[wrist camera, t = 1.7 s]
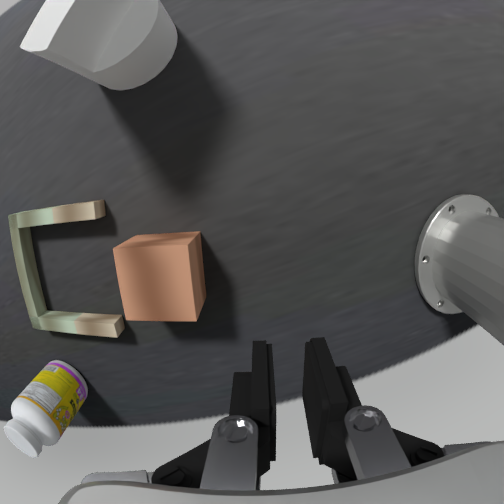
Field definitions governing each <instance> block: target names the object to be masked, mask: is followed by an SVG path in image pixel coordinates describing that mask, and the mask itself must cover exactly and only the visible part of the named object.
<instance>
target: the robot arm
mask: <svg viewBox="0 0 504 504" xmlns="http://www.w3.org/2000/svg"><path fill="white" fill-rule="evenodd" d="M415 277H416V283H417V286H418V288H419V291H420V293H421V295H422V296H423V298H424V300H425V301H426V302H427V303H428V304H429V305H430V306H432V307H433V308H434V309H435V310H437V311H439V312H442V313H445V314H456V313H461V312H464V313H465V314H467V315H468V316H469V317H470V318H472V319H473V320H474V321H475V322H476V323H478V324H479V325H480V326H481V327H483V328H484V329H485V330H486V331H487V332H489V333H490V334H491V335H492V336H493V337H495V338H496V339H497V340H498V341H499V342H500V343H502V344H503V345H504V219H502V218H499V216H498V214H497V212H496V211H495V209H494V208H493V206H492V205H491V204H490V203H489V202H487V201H486V200H485V199H483V198H481V197H479V196H475V195H469V194H461V195H456V196H453V197H451V198H449V199H447V200H445V201H444V202H443V203H442V204H440V205H439V206H438V207H437V208H436V209H435V211H434V212H433V213H432V214H431V215H430V217H429V219H428V220H427V222H426V223H425V225H424V227H423V230H422V232H421V234H420V237H419V240H418V244H417V248H416V254H415ZM303 402H304V408H305V413H306V418H307V424H308V430H309V436H310V442H311V448H312V453H313V458H319V464H320V465H321V464H325V465H326V466H328V467H330V468H332V476H333V480H334V483H335V484H332V485H325V486H317V487H308V488H297V489H285V490H284V489H283V490H260V482H261V476H262V475H263V474H264V473H266V472H267V471H268V470H269V469H270V461H275V460H276V397H275V383H274V369H273V356H272V344H266V341H253V352H252V372H234V377H233V386H232V395H231V404H230V412H229V416H228V417H224V418H223V419H221V420H219V421H218V422H217V423H216V424H215V426H214V428H213V432H212V436H211V439H209V440H208V441H206V442H204V443H203V444H201V445H199V446H197V447H196V448H194V449H192V450H190V451H188V452H187V453H185V454H183V455H181V456H179V457H177V458H175V459H174V460H172V461H170V462H168V463H166V464H164V465H162V466H160V467H159V468H157V469H156V470H155V472H148V473H147V472H146V470H141V471H127V472H106V473H105V472H104V473H91V474H89V475H87V476H85V478H84V479H83V480H82V482H81V484H80V485H77V486H75V487H73V488H72V489H70V490H69V491H68V492H67V493H66V494H65V495H64V496H63V498H62V499H61V500H60V502H59V503H58V504H504V441H497V442H476V443H466V444H454V445H445V446H444V447H443V448H440V447H439V446H438V445H436V444H434V443H432V442H429V441H426V440H423V439H420V438H417V437H415V436H412V435H409V434H406V433H403V432H401V431H398V430H396V429H393V428H391V426H390V424H389V422H388V420H387V419H386V417H385V415H384V414H383V413H382V411H380V410H379V409H377V408H375V407H372V406H362V405H361V402H360V400H359V397H358V395H357V393H356V390H355V388H354V385H353V383H352V380H351V378H350V376H349V373H348V371H347V368H346V367H345V366H339V367H335V364H334V362H333V359H332V356H331V354H330V351H329V348H328V346H327V343H326V340H325V338H324V337H322V338H311V339H310V342H306V343H305V360H304V377H303Z"/></svg>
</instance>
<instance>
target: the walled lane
mask: <svg viewBox="0 0 504 504" xmlns="http://www.w3.org/2000/svg"><path fill="white" fill-rule="evenodd" d="M104 216H106V214H105V203H104V200H98V201H90V202H83V203H75V204H68V205H62V206H55V207H48V208H42V209H36V210H30V211H24V212H19V213H15V214H11V215H8V218H9V225H10V232H11V239H12V245H13V251H14V256H15V261H16V266H17V271H18V275H19V279H20V284H21V288H22V292H23V295H24V299H25V303H26V306H27V310H28V313H29V316H30V320H31V323H32V326H33V328H35V329H42V330H49V331H57V332H65V333H74V334H83V335H93V336H104V337H117V338H118V336H119V335H120V334H121V332H122V331H123V330H124V329H125V326H124V322H123V317H122V315H110V314H91V313H75V312H62V311H50V310H47V307H46V304H45V300H44V296H43V292H42V288H41V284H40V279H39V275H38V270H37V265H36V260H35V255H34V250H33V244H32V237H31V231H30V227H31V226H39V225H47V224H55V223H64V222H73V221H83V220H92V219H98V218H101V217H104Z"/></svg>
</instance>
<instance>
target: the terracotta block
mask: <svg viewBox="0 0 504 504" xmlns="http://www.w3.org/2000/svg"><path fill="white" fill-rule="evenodd" d="M113 252H114V258H115V265H116V271H117V276H118V282H119V287H120V292H121V297H122V302H123V307H124V312H125V316H126V320H140V321H197V319H198V317H199V314H200V312H201V309H202V307H203V304H204V301H205V299H206V288H205V278H204V267H203V257H202V246H201V234H200V232H182V233H165V234H148V235H136V236H134V237H132V238H131V239H129V240H127V241H125V242H123V243H122V244H120V245H118V246H116V247H115V248H113Z"/></svg>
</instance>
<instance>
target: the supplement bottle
mask: <svg viewBox="0 0 504 504" xmlns="http://www.w3.org/2000/svg"><path fill="white" fill-rule="evenodd" d="M87 395H88V388H87V385H86V382H85V380H84V379H83V377H82V376H81V374H80V373H79V372H78V371H77V370H76V369H75V368H73V367H72V366H71V365H69V364H67V363H65V362H63V361H59V360H55V361H51V362H50V363H48V364H47V365H46V366H45V367H44V369H43V370H42V371H41V372H40V373H39V374H38V375H37V376H36V377H35V378H34V379H33V380H32V382H31V383H30V384H29V385H28V386H27V387H26V388H25V389H24V390H23V391H22V393H21V394H20V395H19V396H18V397H17V398H16V399H15V400H14V402H13V403H12V406H11V413H12V416H13V419H11V420H9V421H8V422H7V424H6V425H5V426H4V432H5V434H6V436H7V437H8V438H9V440H10V441H11V442H12V443H13V444H14V445H15V446H16V447H17V448H18V449H19V450H21V451H22V452H24V453H25V454H27V455H29V456H31V457H34V458H36V457H38V455H39V454H40V452H41V451H42V445H46V446H51V445H54V444H56V443H57V442H58V440H59V439H60V437H61V436H62V434H63V433H64V431H65V430H66V428H67V427H68V425H69V424H70V422H71V420H72V419H73V417H74V416H75V414H76V413H77V411H78V410H79V408H80V407H81V405H82V404H83V402H84V401H85V399H86V398H87Z"/></svg>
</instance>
